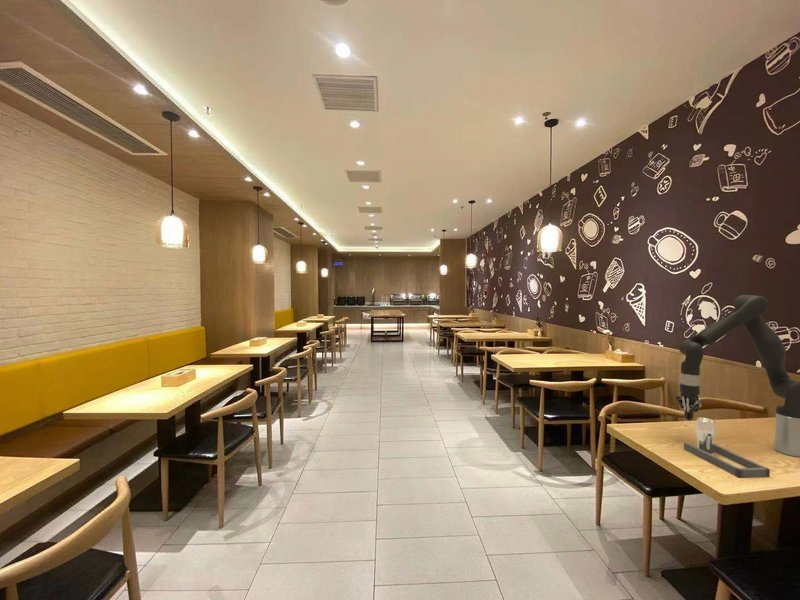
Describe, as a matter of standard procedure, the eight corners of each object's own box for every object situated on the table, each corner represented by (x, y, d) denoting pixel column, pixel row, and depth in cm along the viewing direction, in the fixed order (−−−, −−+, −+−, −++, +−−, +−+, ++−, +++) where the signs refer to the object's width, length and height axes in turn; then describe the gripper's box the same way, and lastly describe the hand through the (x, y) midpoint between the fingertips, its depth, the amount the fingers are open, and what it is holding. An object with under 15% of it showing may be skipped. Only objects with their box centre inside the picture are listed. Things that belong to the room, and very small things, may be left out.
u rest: (709, 448, 169) (710, 441, 169) (769, 476, 143) (769, 469, 143) (683, 448, 168) (683, 442, 168) (739, 477, 142) (739, 470, 142)
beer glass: (707, 456, 160) (708, 423, 159) (691, 450, 167) (692, 417, 166) (718, 455, 162) (720, 422, 161) (702, 448, 169) (703, 416, 168)
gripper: (709, 387, 166) (708, 424, 166) (685, 379, 179) (684, 414, 180) (694, 387, 165) (693, 424, 166) (670, 379, 179) (669, 414, 179)
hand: (688, 419), depth 173 cm, fingers closed
